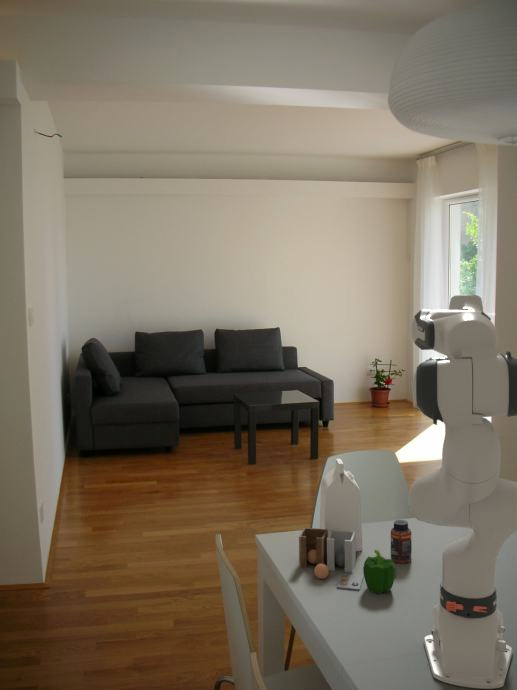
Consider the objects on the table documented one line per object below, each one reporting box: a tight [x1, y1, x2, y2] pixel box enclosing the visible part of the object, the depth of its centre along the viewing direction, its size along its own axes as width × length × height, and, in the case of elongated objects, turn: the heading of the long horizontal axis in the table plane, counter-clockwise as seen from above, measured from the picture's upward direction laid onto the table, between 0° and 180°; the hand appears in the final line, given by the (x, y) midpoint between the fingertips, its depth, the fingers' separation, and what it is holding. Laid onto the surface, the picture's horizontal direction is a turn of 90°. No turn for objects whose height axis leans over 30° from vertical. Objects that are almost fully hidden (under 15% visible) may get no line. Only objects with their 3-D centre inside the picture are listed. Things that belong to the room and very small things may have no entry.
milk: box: [319, 458, 364, 552], centre depth 215 cm, size 12×12×26 cm
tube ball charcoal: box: [334, 552, 345, 567], centre depth 200 cm, size 4×4×4 cm
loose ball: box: [314, 564, 330, 580], centre depth 193 cm, size 4×4×4 cm
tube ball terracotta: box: [307, 549, 317, 565], centre depth 202 cm, size 4×4×4 cm
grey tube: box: [326, 530, 357, 573], centre depth 200 cm, size 7×7×9 cm
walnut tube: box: [298, 527, 328, 569], centre depth 202 cm, size 7×7×9 cm
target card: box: [336, 573, 364, 591], centre depth 190 cm, size 8×6×1 cm
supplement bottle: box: [390, 519, 413, 564], centre depth 203 cm, size 6×6×11 cm
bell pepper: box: [362, 549, 396, 594], centre depth 185 cm, size 8×8×10 cm
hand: (464, 411), depth 181 cm, fingers open, 8 cm apart
